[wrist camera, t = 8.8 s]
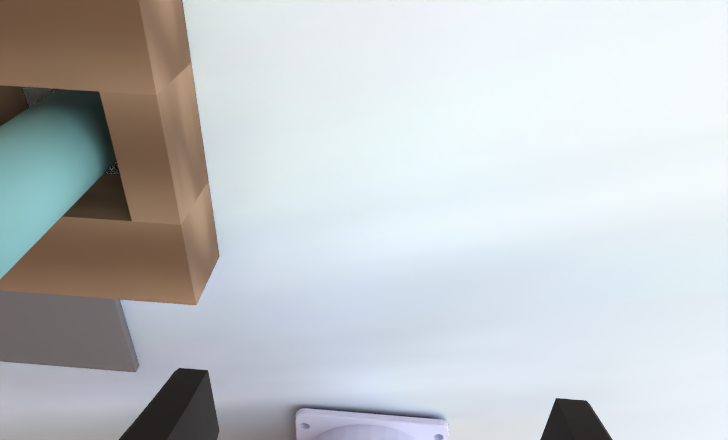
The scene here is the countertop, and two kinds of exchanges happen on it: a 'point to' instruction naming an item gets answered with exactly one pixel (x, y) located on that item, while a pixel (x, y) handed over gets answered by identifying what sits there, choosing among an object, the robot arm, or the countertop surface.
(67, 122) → the peg
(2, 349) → the mat
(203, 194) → the hole block
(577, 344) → the countertop surface
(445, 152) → the countertop surface
